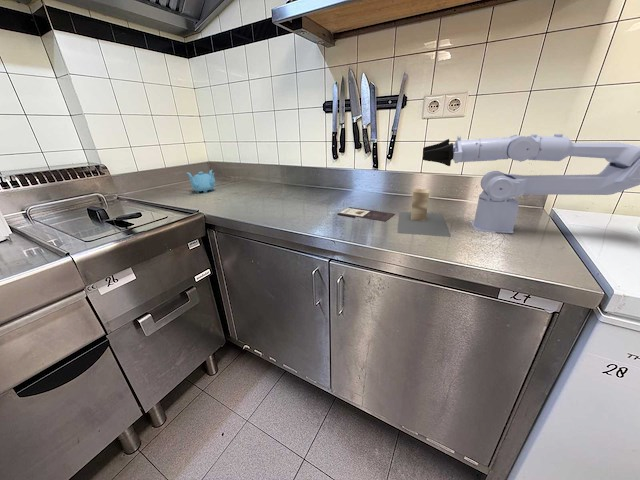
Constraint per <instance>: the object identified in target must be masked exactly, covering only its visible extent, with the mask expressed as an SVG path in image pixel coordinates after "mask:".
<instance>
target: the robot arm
mask: <svg viewBox="0 0 640 480" xmlns="http://www.w3.org/2000/svg"><path fill="white" fill-rule="evenodd" d="M456 137H457V138H456V141H455V143H453V142H451V143H450V139H449V138H448V139H445V140H443V141H442V142H439V143H437V144H436V143H435V144H432V145H428V146H424V147H422V161H427V162H434V163H439V164H443V165H445V166H447V167H451V165H452V164H451V163H452V161H453V162H454V164H459V163H470V162H471V163H472V162H473V163H474V162H490V161H491V162H492V161H497V160H498V161H499V160H500V161H501V160H508V159H510V160H513V161H516V162H517V161H518V162H519V163H520V162H525V161H527V160H528V161H542V162H543V161H544V162H546V161H547V162H549V161H550V162H561V161H563V160H564V159H566V158H568V157H575V158H576V157H577V158H589V159H590V158H593V159H594V158H595V159H605V160H606V161H607V163H608V164H607V165H606V166H605V167H604V168H603V169H602V171H600V172H599V173H598V174H547V175H546V174H543V175H542V174H541V175H540V174H539V175H536V174H533V175H532V174H531V175H523V174H516V173H515V174H513V173H504V172H501V171H499V170H491V171H489V172H487V173H485V174H484V175H483V176H482V178H481V180H480V188H481V189H482V191H481V192H480V193H479V195H478V200H477V205H476V209H475V216H474V220H470V221H469V223H470V224H471V227H473V229H474V231H479V232H493V233H494V232H495V233H499V234H514V228H515V224H516V220H517V216H518V213H519V201H518V200H517V198H519V197H521V196H523V195H540V196H541V195H543V196H545V195H553V196H554V195H561V196H562V195H564V196H566V195H567V196H570V195H571V196H572V195H573V196H574V195H575V196H576V195H577V196H587V195H588V196H589V195H590V196H608V195H609V196H610V195H614V194H617V193H620V192H623V191H625V190H629V189H632V188H635V187H637V186H638V187H639V186H640V145H638V144H630V143H625V142H623V143H622V142H573V141H572V140H571V139H570V138H569V137H568V136H564V134H562V133H554V134H553V136H547V135H546V136H545V135H544V136H543V135H538V134H537V133H531V134H530V135H527V136H526V135H518V134H513V135H511V136H509V137H507V136H506V137H504V136H503V137H502V138H500V137H488V138H487V137H486V138H475V139H462V135H457V136H456Z"/></svg>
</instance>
